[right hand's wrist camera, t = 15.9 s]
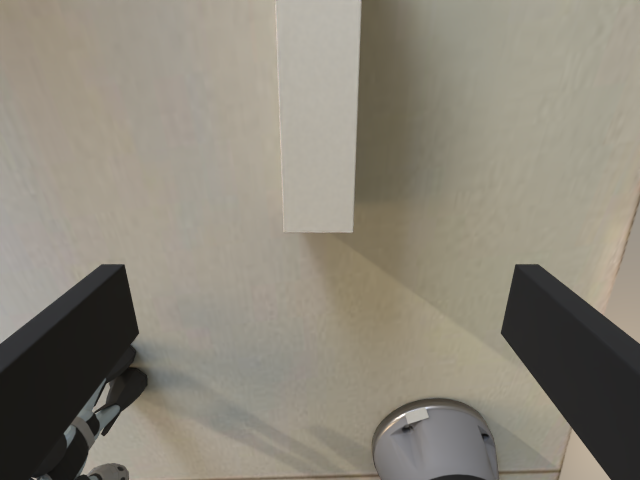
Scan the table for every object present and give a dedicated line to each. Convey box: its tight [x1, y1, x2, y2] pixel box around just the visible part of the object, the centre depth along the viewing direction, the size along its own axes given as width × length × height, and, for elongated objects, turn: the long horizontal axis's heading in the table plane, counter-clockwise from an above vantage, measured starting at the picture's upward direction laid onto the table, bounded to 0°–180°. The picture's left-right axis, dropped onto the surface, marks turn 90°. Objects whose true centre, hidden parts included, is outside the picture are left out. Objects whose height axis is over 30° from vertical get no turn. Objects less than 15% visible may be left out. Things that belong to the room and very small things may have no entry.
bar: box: [275, 0, 362, 233], centre depth 29 cm, size 26×6×8 cm, turn 0°
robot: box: [29, 345, 147, 480], centre depth 35 cm, size 20×5×20 cm, turn 10°
